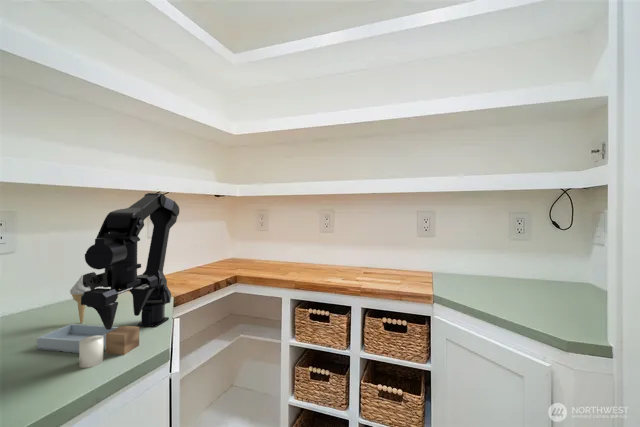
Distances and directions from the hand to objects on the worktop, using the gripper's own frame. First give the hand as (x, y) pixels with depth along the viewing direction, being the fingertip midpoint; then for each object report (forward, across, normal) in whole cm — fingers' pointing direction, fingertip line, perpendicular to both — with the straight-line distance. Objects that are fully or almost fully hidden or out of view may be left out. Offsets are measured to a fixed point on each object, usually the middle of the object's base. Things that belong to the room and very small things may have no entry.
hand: (123, 322), depth 75 cm
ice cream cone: (+7, -13, -25) cm, 29 cm away
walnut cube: (+7, 0, 0) cm, 7 cm away
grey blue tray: (+7, -1, -13) cm, 15 cm away
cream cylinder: (+7, +7, -2) cm, 10 cm away
